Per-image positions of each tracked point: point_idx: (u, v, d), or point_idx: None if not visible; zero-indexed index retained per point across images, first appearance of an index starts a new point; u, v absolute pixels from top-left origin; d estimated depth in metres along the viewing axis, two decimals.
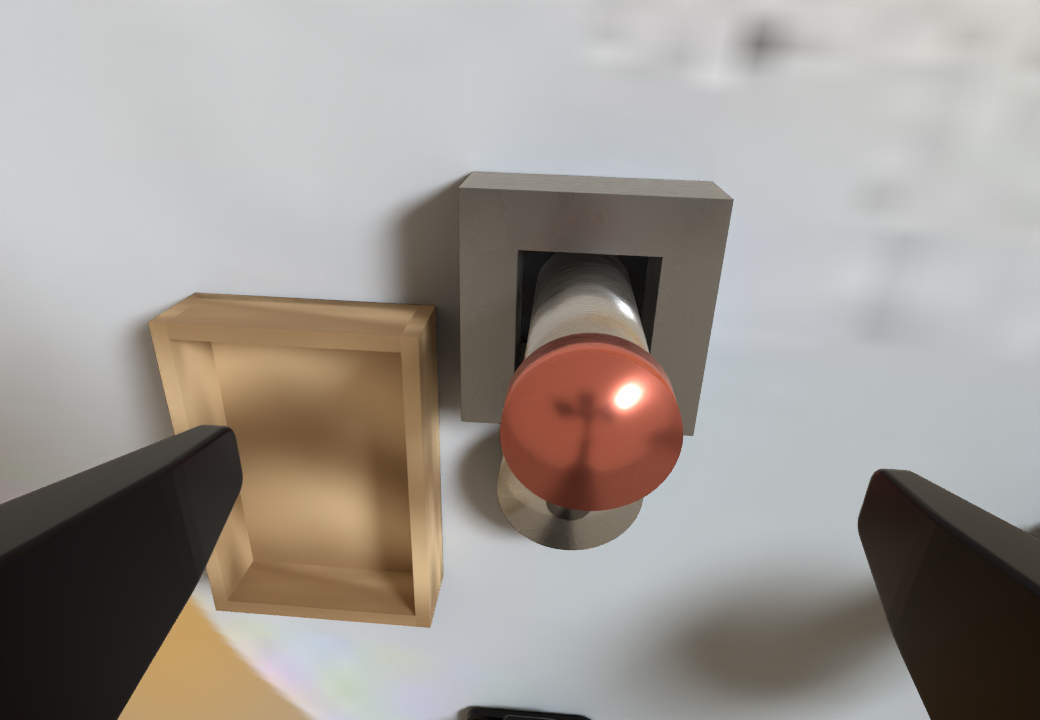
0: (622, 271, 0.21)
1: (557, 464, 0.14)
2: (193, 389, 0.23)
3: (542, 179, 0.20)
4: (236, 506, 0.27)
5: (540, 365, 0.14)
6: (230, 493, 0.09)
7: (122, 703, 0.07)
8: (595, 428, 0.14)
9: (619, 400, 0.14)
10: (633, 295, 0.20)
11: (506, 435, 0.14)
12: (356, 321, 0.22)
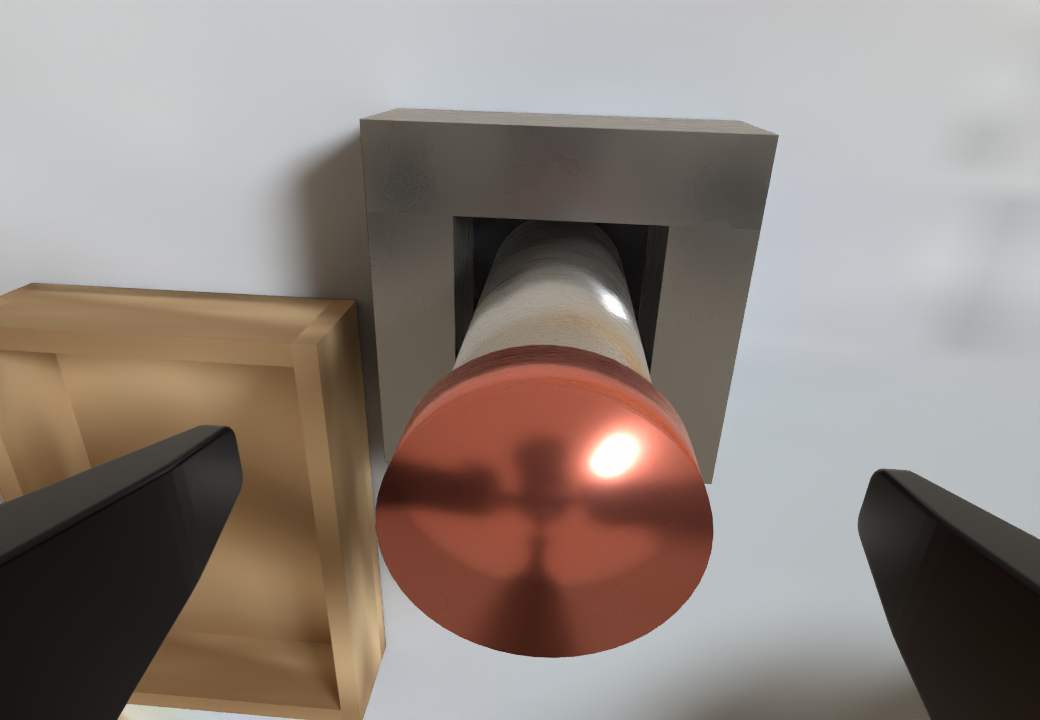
0: (610, 250, 0.15)
1: (483, 582, 0.08)
2: (21, 416, 0.17)
3: (493, 115, 0.14)
4: None
5: (442, 408, 0.07)
6: (230, 493, 0.09)
7: (122, 702, 0.07)
8: (549, 523, 0.07)
9: (593, 474, 0.07)
10: (626, 284, 0.14)
11: (387, 533, 0.08)
12: (236, 322, 0.16)
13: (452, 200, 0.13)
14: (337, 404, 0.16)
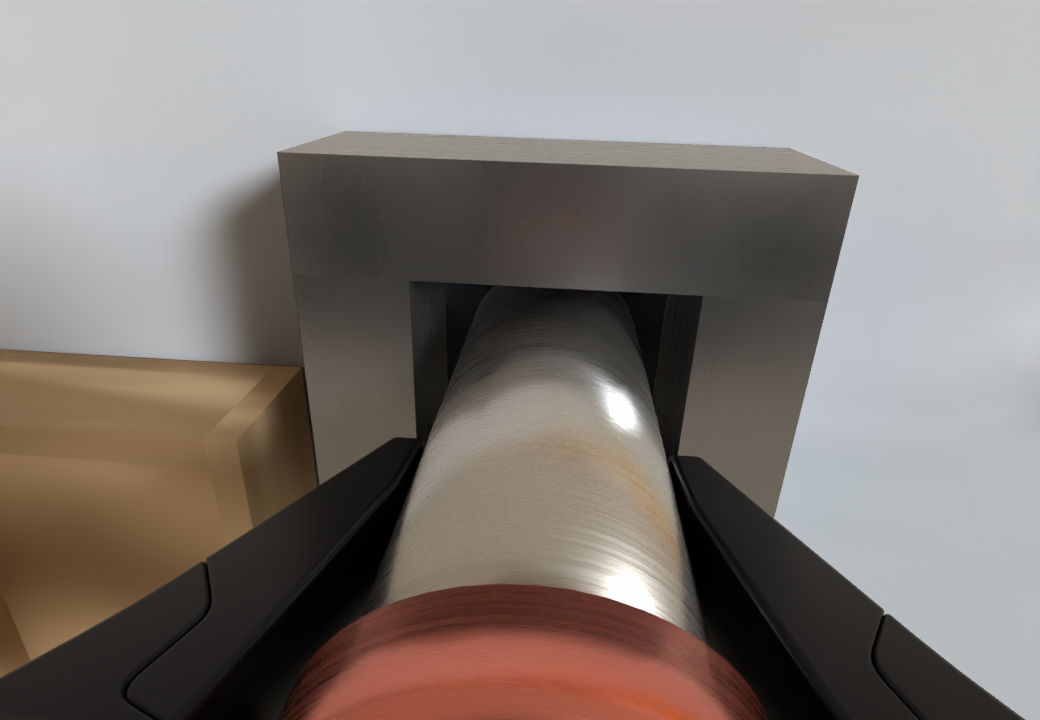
0: (621, 316, 0.11)
1: None
2: None
3: (467, 142, 0.11)
4: None
5: None
6: None
7: None
8: None
9: None
10: (642, 366, 0.10)
11: None
12: (141, 403, 0.12)
13: (407, 260, 0.10)
14: (273, 504, 0.13)
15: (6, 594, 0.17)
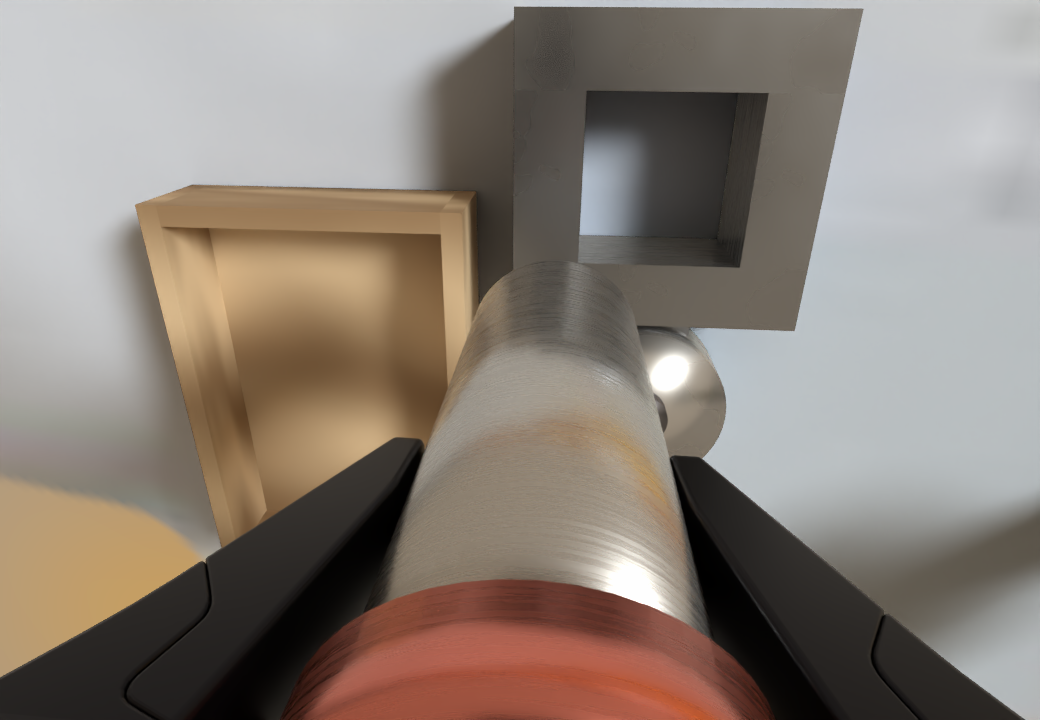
0: (623, 313, 0.11)
1: None
2: (192, 295, 0.20)
3: None
4: (246, 444, 0.23)
5: None
6: None
7: None
8: None
9: None
10: (644, 363, 0.10)
11: None
12: (385, 202, 0.18)
13: (587, 76, 0.16)
14: (468, 275, 0.19)
15: (243, 383, 0.23)
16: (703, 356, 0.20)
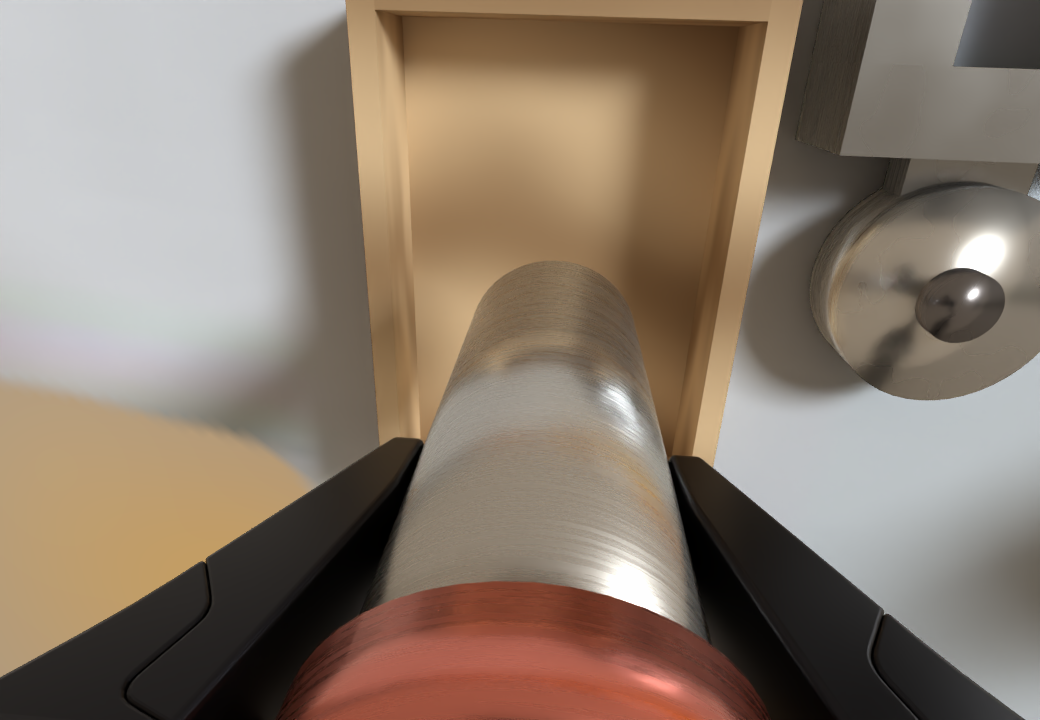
0: (621, 314, 0.11)
1: None
2: (390, 125, 0.15)
3: None
4: (413, 349, 0.19)
5: None
6: None
7: None
8: None
9: None
10: (643, 364, 0.10)
11: None
12: None
13: None
14: None
15: (417, 267, 0.18)
16: None
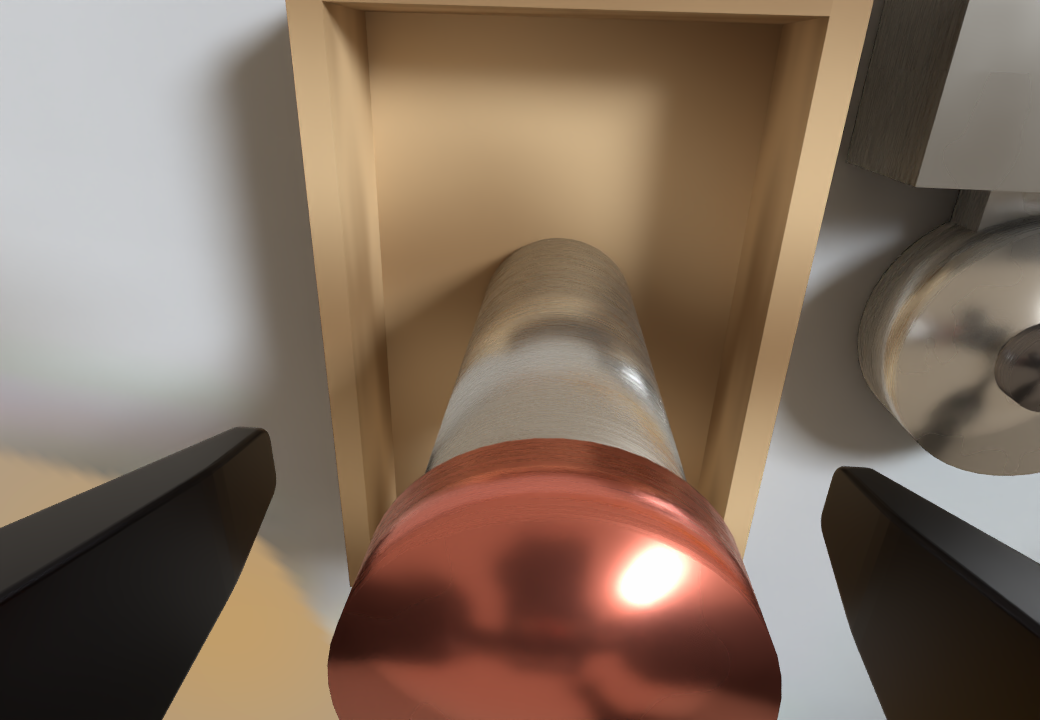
0: (619, 282, 0.13)
1: None
2: (348, 147, 0.12)
3: None
4: (385, 407, 0.16)
5: (415, 538, 0.05)
6: (264, 495, 0.09)
7: (164, 706, 0.07)
8: (561, 683, 0.06)
9: (621, 625, 0.05)
10: (638, 323, 0.12)
11: (344, 692, 0.06)
12: None
13: None
14: None
15: (389, 312, 0.15)
16: None
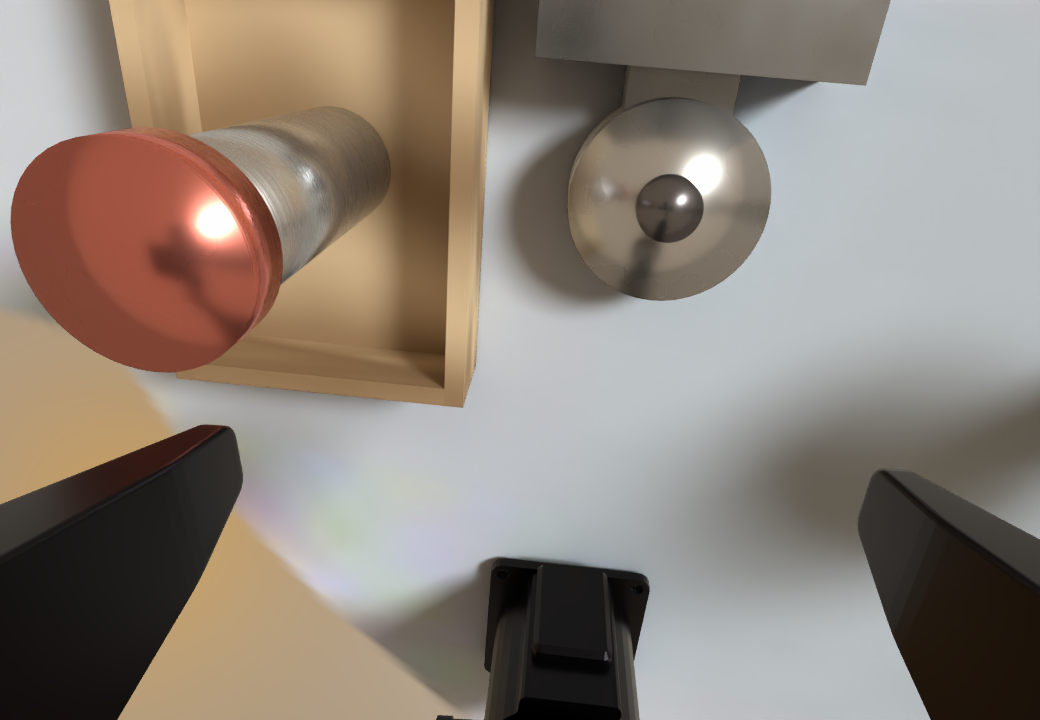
0: (358, 133, 0.18)
1: (102, 302, 0.11)
2: (152, 17, 0.16)
3: None
4: None
5: (45, 153, 0.10)
6: (230, 493, 0.09)
7: (122, 701, 0.07)
8: (135, 249, 0.10)
9: (154, 207, 0.10)
10: (358, 156, 0.17)
11: (24, 257, 0.11)
12: None
13: None
14: (484, 6, 0.16)
15: None
16: (750, 134, 0.17)
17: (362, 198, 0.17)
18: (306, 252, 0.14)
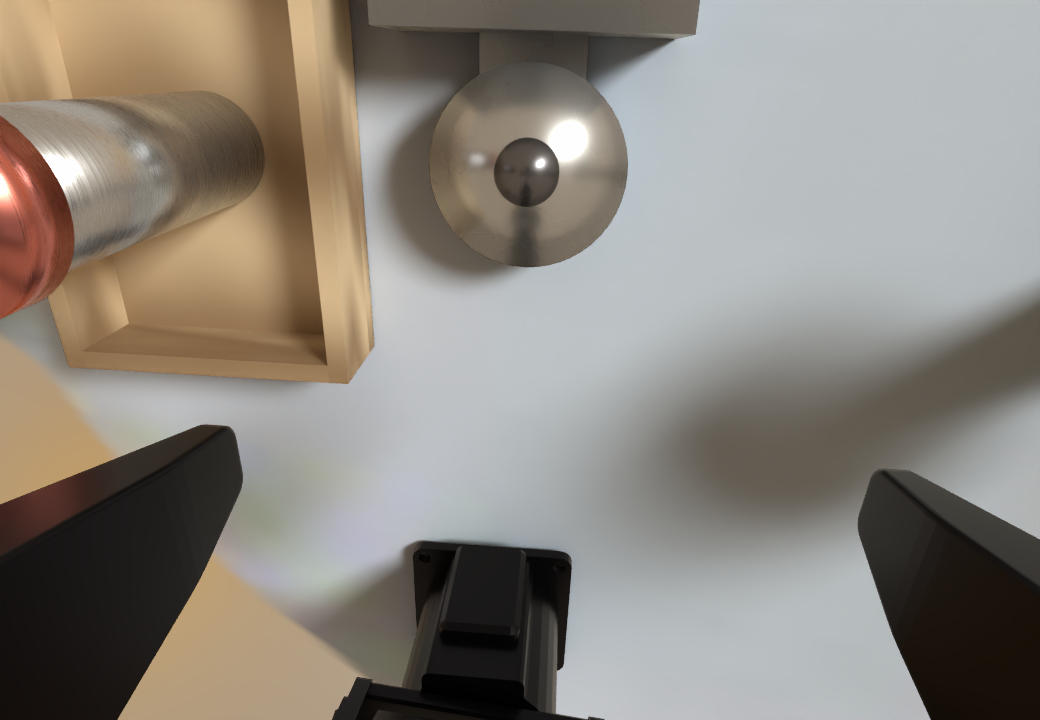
0: (217, 112, 0.18)
1: None
2: (5, 8, 0.17)
3: None
4: None
5: None
6: (230, 493, 0.09)
7: (122, 702, 0.07)
8: None
9: None
10: (211, 133, 0.17)
11: None
12: None
13: None
14: None
15: None
16: (599, 93, 0.17)
17: (217, 174, 0.17)
18: (129, 219, 0.14)
